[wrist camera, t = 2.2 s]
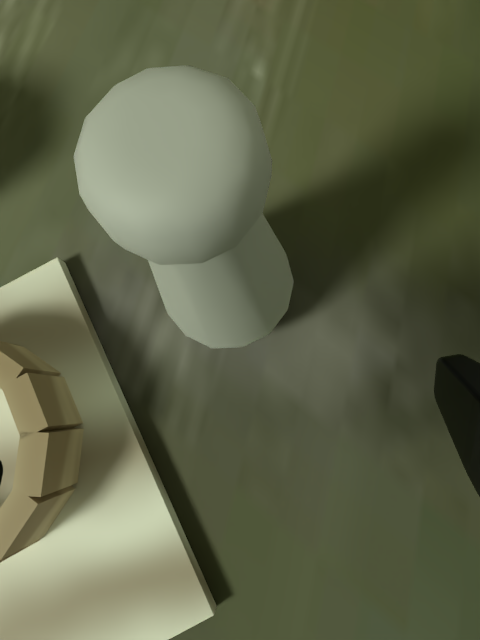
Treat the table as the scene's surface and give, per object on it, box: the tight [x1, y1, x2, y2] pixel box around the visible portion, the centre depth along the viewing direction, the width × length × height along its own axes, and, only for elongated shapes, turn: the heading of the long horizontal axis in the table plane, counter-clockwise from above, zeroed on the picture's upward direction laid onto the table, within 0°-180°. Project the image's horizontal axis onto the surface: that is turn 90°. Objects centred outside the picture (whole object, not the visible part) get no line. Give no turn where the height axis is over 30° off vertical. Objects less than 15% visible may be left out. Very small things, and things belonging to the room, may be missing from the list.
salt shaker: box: [74, 66, 294, 348], centre depth 15 cm, size 6×6×13 cm
